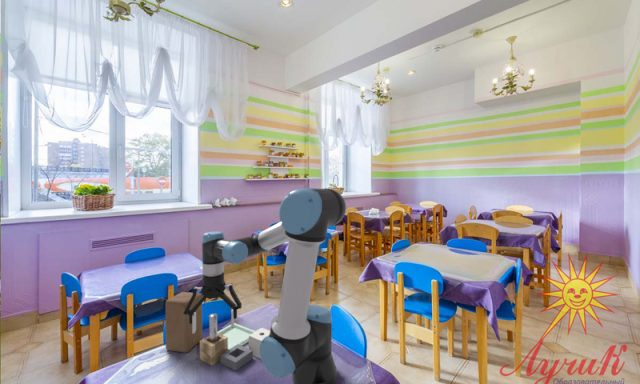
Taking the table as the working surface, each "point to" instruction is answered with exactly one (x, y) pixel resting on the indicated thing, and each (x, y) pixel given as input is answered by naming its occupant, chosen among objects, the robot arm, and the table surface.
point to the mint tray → (236, 335)
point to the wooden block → (182, 323)
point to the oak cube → (213, 349)
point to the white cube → (257, 340)
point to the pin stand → (243, 357)
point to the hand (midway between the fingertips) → (213, 329)
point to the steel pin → (213, 328)
